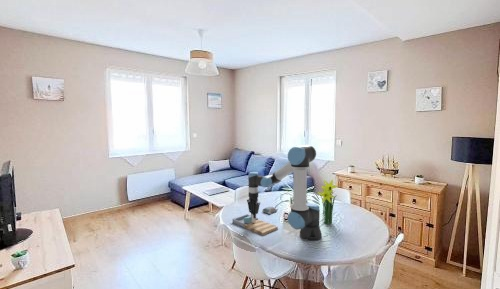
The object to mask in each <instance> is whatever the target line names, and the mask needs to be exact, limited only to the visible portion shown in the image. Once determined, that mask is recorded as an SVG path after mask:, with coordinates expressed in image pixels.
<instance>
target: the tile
mask: <svg viewBox="0 0 500 289" xmlns="http://www.w3.org/2000/svg"><path fill="white" fill-rule="evenodd" d="M243 219H244V223H251V222H252V217H251V216H248V217H245V218H243Z"/></svg>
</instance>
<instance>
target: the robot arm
mask: <svg viewBox="0 0 500 289" xmlns="http://www.w3.org/2000/svg"><path fill="white" fill-rule="evenodd" d="M316 156H317V151H316V148H315V147H313V146H312V145H310V144H305V145H303V144H302V145H296V146H293V147H291V148H290V149H289V151H288V153H287V161H288V162H287V163H286V164H284V165H283V166H281V167H280V168H278V169H277V170H276V171H274V172H273V173H272V174H268V175H260V174H259V172H258V171H250V172H248V180H247V181H248V197H249V198H248V199H246V202H247V206H248V213H250V215H251V217H252V222H253V223H254V222H256V218H257V214H259V211H260V210H259V209H260V205H261V202H260V201H259V187H261V188H262V187H263V188H270V187H271V186H272V185H275V184H276V185H277V184H279V183H280V182H282V180H283V179H284V178H286V177H287V176H289V175H291V174H292V173H293V175H292V176H293V180H292V181H293V183H292V185H293V188H292V189H293V193H292V194H293V196H292V197H293V203H292V205H291V206H290V212H289V213H288V215H287V222H288V224H289V225H290V227H292V228H293V229H295V230H299V237H300V238H301V239H302V240H304V241H305V240H306V241H311V242H315V241H320V240H321V239H322V238H323V237H322V236H323V235H322V231H321V227H320V212H321V211H320V209H321V208H320V206H319V205H318V204H315V203H311V202H307V197H308V196H307V193H308V192H307V191H308V188H307V186H308V184H307V183H308V181H307V179H308V177H307V176H308V175H307V174H308V171H307V170H308V169H309V168H310V163H311V162H313V161H314V160H315V159H316Z"/></svg>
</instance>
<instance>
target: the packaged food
mask: <svg viewBox="0 0 500 289" xmlns="http://www.w3.org/2000/svg"><path fill="white" fill-rule="evenodd" d="M278 210H279V209H278V208H276V207H274V206H268V207H265V208H263V209H262V211H261V212H262V213H265V214H268V215H271V214H273V213H275V212H276V213H277V211H278Z"/></svg>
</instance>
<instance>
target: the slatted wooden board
mask: <svg viewBox="0 0 500 289" xmlns="http://www.w3.org/2000/svg"><path fill="white" fill-rule="evenodd" d="M243 228H244V229H246V230H249V231H251V232H254V233H256V234H259V235H261V236H265V235H267V234H270V233H273V232H274V231H277V230H278V229H279V226H277V225H274V224H272V223H268V221H267V222H266V221H264V220H261V219H258V220H256V222H254V223H253V222H251V223H248V224H245V225H244V227H243Z"/></svg>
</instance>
